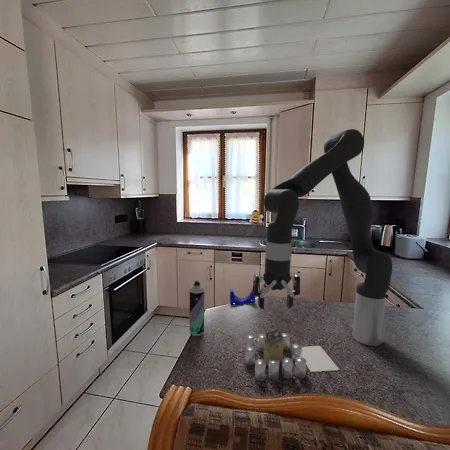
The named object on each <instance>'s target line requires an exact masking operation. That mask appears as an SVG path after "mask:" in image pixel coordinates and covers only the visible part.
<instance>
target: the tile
mask: <svg viewBox="0 0 450 450" xmlns="http://www.w3.org/2000/svg"><path fill="white" fill-rule="evenodd" d="M301 357H302V358H304V359H305V360H306V365H307V366H306V368H307V369H308V371H309V370H310V371H309V372H310V373H322V371H324V372H335V371H336V372H337V371H338V370H339V371H340V368H339V367H338V366H337V365H336V364H335V362H334V361H333V360H332V359H331V357H330V356H329V355H328V354H327V352H326V351H325V350H324V349H323V347H322V346H321V345H312V346H311V345H310V346H302V356H301Z"/></svg>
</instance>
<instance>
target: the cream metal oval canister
mask: <svg viewBox="0 0 450 450" xmlns="http://www.w3.org/2000/svg"><path fill="white" fill-rule="evenodd" d="M265 335H266V337H265V341H264V352H263V359H262V360H264V361H265V362H266V367H269V360H270V359H277V360H278V361H279V363H282V359H283V358H284V350H283V343H284V339H283V334H282V330H279V329H278V328H275V329H274V328H271V329H270V330H269V331H266V332H265Z"/></svg>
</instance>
